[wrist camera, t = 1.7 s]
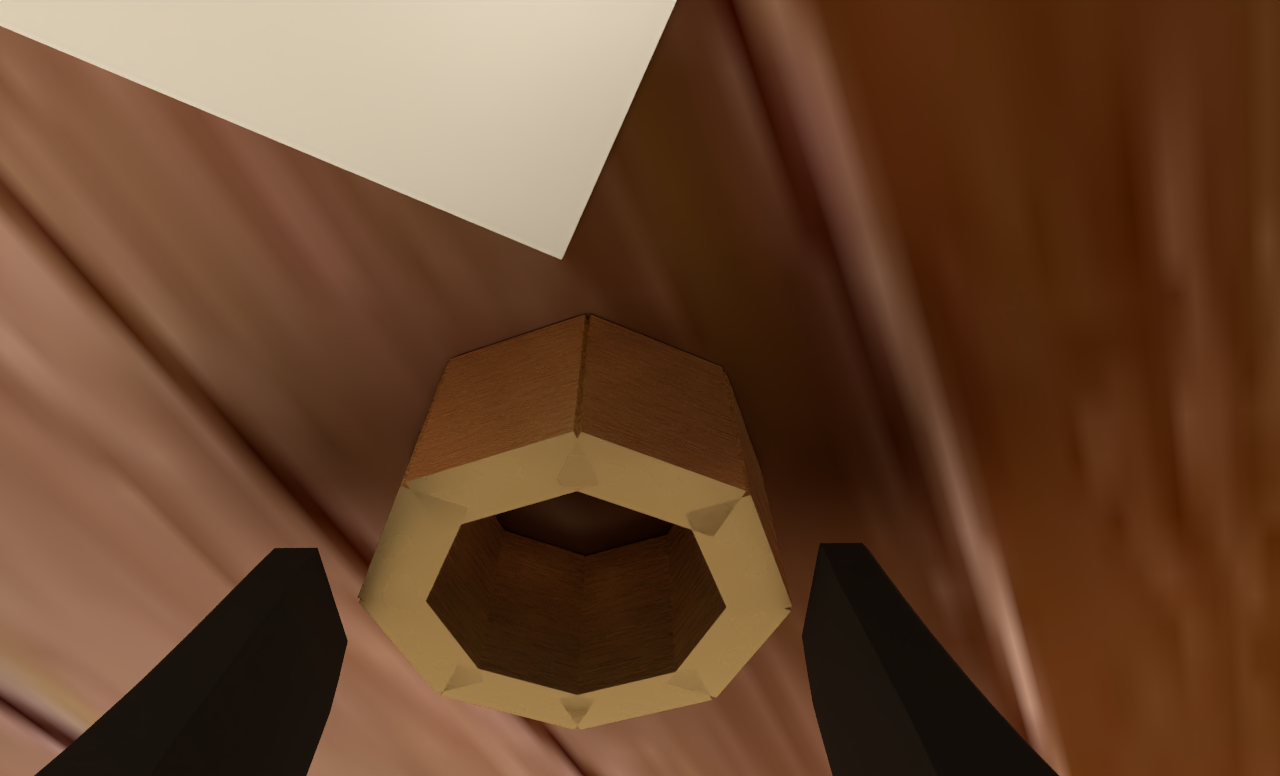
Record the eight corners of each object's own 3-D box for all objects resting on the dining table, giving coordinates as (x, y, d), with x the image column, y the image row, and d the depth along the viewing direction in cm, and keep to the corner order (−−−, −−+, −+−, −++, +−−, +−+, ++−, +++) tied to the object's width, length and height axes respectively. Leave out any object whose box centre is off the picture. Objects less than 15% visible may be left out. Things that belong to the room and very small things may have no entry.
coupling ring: (813, 403, 13) (859, 531, 10) (661, 613, 15) (668, 753, 13) (482, 270, 11) (440, 381, 9) (382, 529, 14) (330, 668, 12)
